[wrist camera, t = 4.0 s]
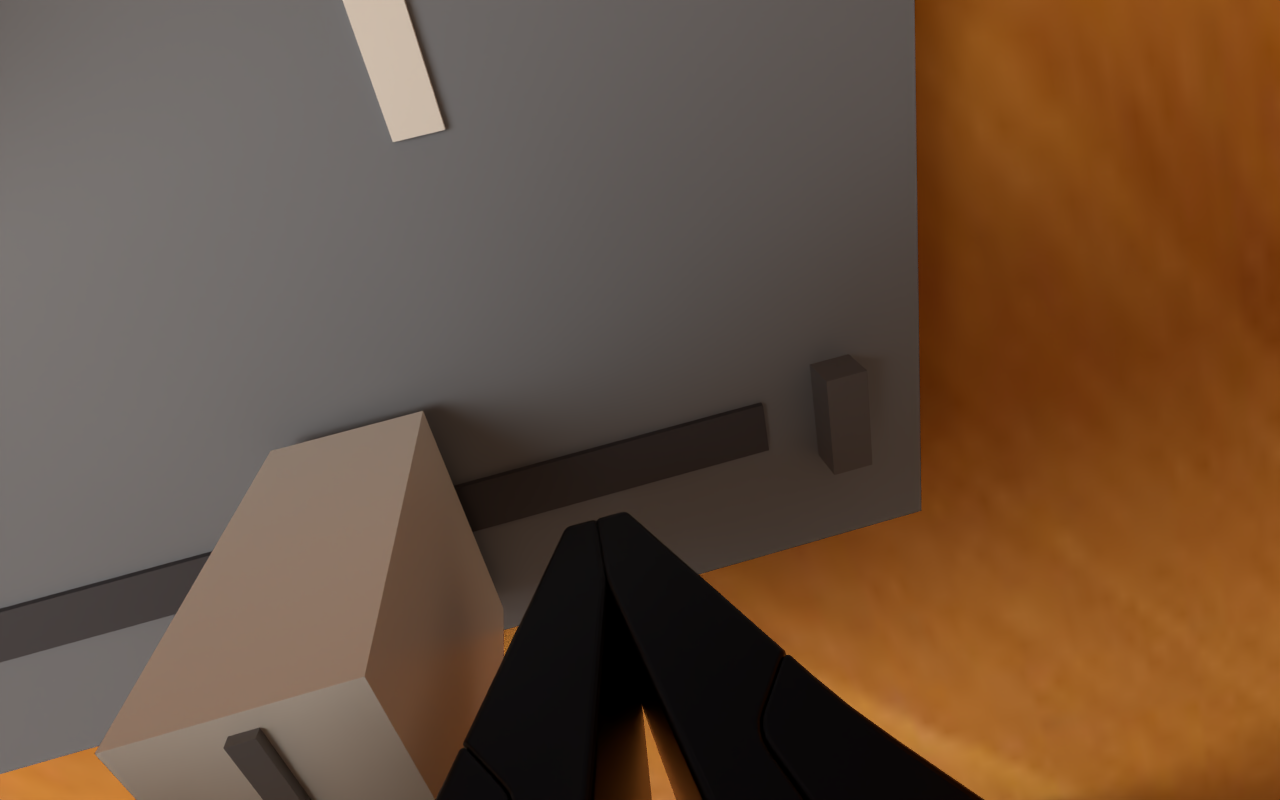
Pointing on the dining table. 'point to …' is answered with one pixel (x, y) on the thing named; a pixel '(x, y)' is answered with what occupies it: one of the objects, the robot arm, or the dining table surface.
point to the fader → (322, 636)
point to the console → (438, 287)
